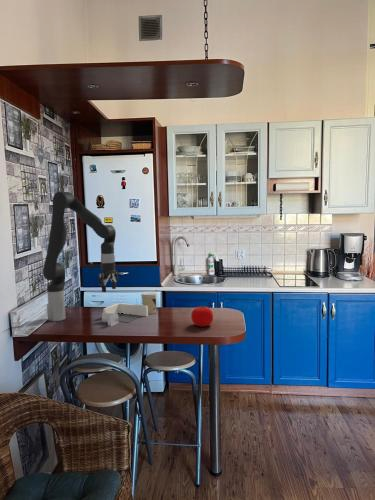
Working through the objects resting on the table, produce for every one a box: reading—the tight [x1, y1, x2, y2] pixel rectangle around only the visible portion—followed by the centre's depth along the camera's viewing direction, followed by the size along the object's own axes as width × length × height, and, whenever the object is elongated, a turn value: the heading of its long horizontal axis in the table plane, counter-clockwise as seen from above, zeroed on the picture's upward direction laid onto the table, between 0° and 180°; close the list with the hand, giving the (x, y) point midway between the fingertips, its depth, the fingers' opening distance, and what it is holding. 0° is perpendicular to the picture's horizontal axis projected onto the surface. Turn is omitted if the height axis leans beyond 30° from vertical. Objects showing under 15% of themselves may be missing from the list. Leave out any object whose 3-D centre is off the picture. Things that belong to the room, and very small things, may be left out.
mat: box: [119, 314, 140, 324], centre depth 217 cm, size 10×12×1 cm
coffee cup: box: [140, 291, 157, 315], centre depth 229 cm, size 9×9×12 cm
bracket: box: [101, 312, 120, 327], centre depth 208 cm, size 10×7×5 cm
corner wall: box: [102, 302, 149, 317], centre depth 220 cm, size 21×15×6 cm
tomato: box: [190, 305, 214, 328], centre depth 200 cm, size 12×12×10 cm
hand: (109, 290), depth 207 cm, fingers open, 8 cm apart
